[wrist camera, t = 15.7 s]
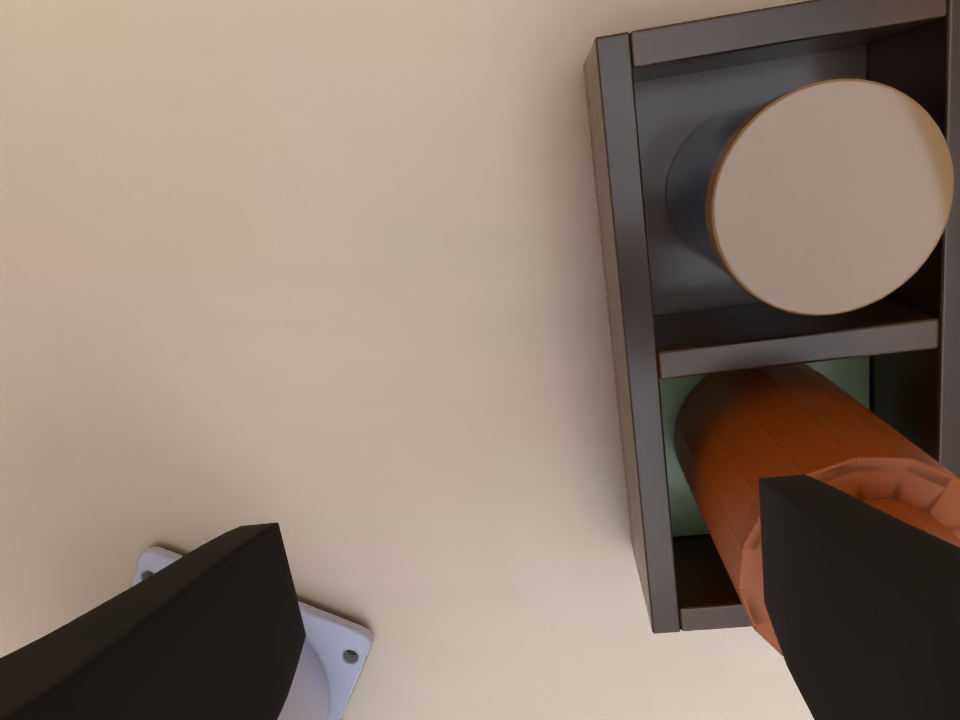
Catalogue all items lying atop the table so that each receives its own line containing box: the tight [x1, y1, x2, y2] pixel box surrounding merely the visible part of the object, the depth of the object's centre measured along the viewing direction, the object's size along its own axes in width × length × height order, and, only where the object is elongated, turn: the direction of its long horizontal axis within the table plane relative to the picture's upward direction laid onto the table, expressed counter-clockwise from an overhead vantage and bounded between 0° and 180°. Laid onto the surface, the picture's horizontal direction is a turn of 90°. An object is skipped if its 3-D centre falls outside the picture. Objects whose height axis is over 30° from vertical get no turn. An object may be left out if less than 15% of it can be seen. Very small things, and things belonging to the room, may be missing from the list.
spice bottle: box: [674, 364, 960, 656], centre depth 16 cm, size 5×5×8 cm
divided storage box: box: [583, 0, 960, 633], centre depth 18 cm, size 7×14×4 cm, turn 8°
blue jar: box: [666, 78, 954, 316], centre depth 15 cm, size 4×4×6 cm
